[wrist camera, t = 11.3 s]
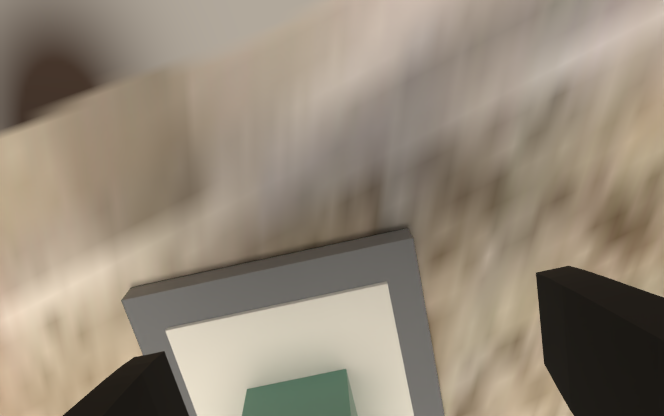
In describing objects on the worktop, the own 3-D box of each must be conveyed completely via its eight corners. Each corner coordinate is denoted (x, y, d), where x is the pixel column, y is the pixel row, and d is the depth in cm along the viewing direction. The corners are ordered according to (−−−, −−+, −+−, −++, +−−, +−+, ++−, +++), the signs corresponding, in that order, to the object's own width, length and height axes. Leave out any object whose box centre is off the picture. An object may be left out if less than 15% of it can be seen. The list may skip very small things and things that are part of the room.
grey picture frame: (408, 228, 19) (414, 239, 17) (453, 483, 23) (461, 506, 22) (130, 287, 19) (119, 303, 18) (224, 528, 23) (219, 553, 22)
